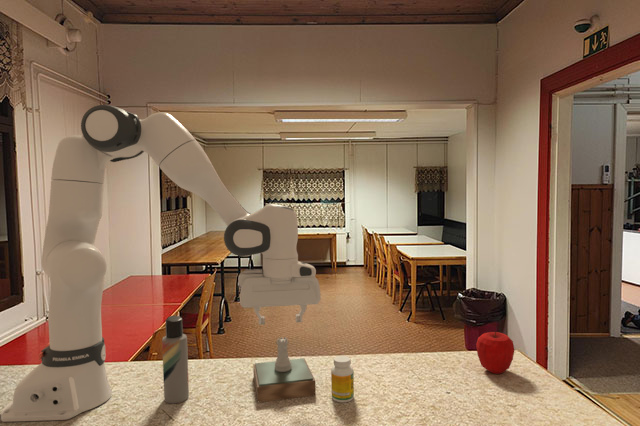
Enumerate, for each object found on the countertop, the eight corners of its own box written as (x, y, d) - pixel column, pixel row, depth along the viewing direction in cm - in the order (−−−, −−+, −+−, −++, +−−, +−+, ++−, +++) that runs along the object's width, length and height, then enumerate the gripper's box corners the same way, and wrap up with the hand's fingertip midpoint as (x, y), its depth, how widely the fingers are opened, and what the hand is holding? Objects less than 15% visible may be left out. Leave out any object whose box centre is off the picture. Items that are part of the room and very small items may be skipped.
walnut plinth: (257, 402, 102) (257, 385, 102) (253, 377, 116) (253, 362, 116) (315, 395, 105) (315, 379, 105) (304, 371, 119) (304, 357, 119)
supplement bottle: (330, 392, 106) (330, 354, 106) (352, 392, 106) (352, 354, 106) (332, 403, 101) (331, 363, 100) (355, 403, 101) (354, 362, 100)
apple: (485, 360, 124) (485, 323, 123) (519, 370, 117) (520, 330, 117) (469, 371, 117) (469, 332, 116) (505, 382, 110) (506, 340, 110)
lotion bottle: (182, 390, 109) (179, 312, 108) (193, 398, 105) (190, 316, 104) (160, 398, 105) (157, 317, 104) (170, 406, 101) (167, 322, 100)
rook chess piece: (283, 364, 114) (282, 334, 114) (295, 368, 111) (294, 338, 111) (270, 370, 111) (270, 339, 110) (283, 374, 108) (282, 343, 107)
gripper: (238, 272, 103) (239, 329, 104) (322, 269, 108) (321, 324, 108) (238, 267, 110) (238, 321, 110) (316, 265, 114) (316, 317, 114)
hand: (280, 322), depth 109 cm, fingers open, 8 cm apart
